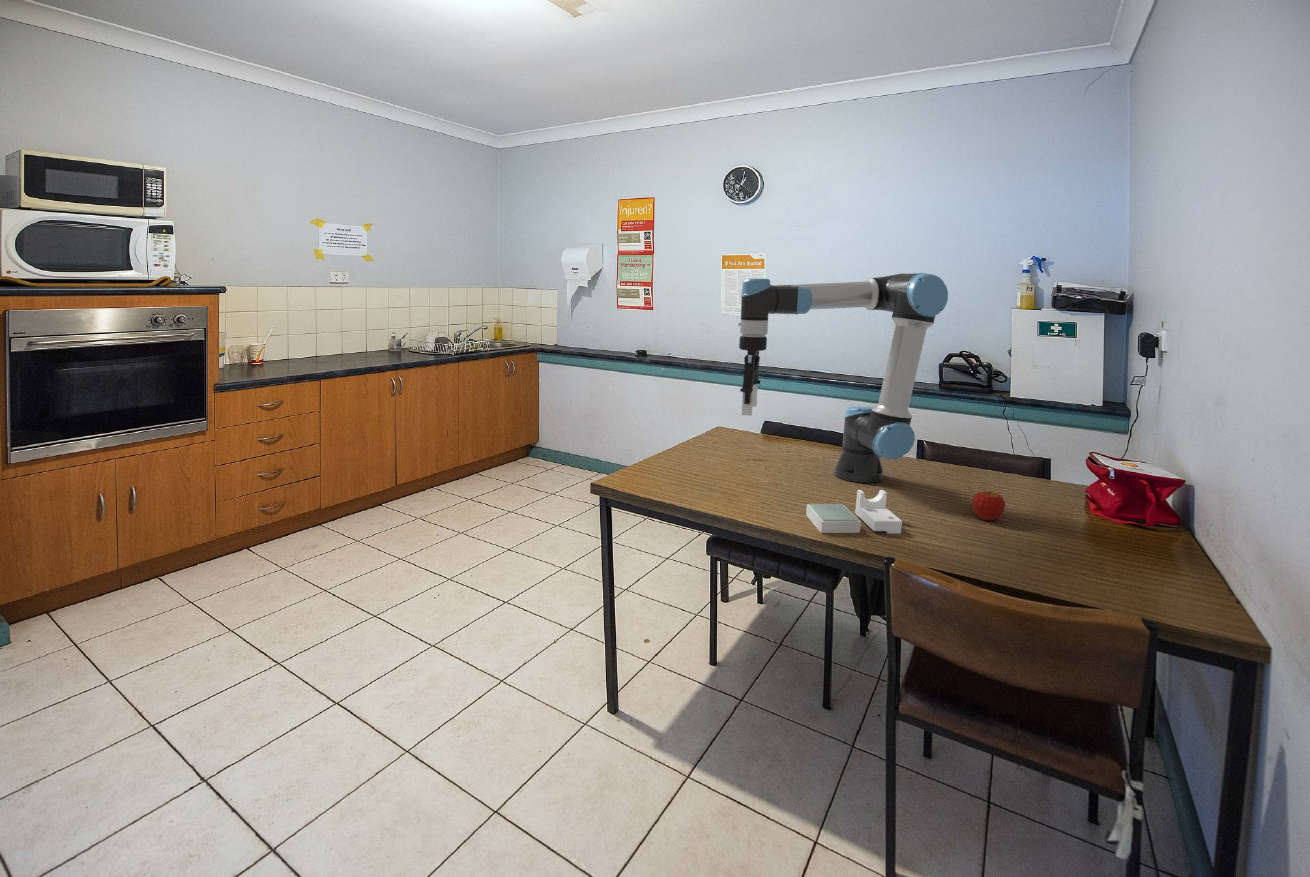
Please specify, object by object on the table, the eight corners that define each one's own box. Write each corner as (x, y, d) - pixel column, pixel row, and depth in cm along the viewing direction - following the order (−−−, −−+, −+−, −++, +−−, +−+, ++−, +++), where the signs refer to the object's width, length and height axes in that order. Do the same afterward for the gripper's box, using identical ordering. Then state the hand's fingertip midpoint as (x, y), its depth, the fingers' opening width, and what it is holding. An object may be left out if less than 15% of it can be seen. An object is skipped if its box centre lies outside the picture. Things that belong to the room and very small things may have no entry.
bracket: (854, 516, 179) (857, 489, 177) (880, 516, 179) (883, 489, 177) (873, 534, 166) (876, 506, 164) (900, 534, 167) (904, 506, 165)
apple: (997, 526, 173) (1002, 498, 171) (966, 518, 178) (970, 491, 176) (1005, 518, 179) (1010, 491, 177) (975, 511, 184) (979, 485, 182)
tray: (842, 514, 179) (843, 503, 178) (859, 532, 166) (861, 520, 165) (806, 514, 178) (807, 503, 177) (821, 532, 165) (822, 520, 164)
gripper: (744, 331, 195) (741, 402, 200) (734, 338, 171) (730, 418, 176) (770, 332, 193) (766, 403, 198) (763, 339, 170) (758, 420, 175)
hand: (749, 410), depth 187 cm, fingers open, 13 cm apart
